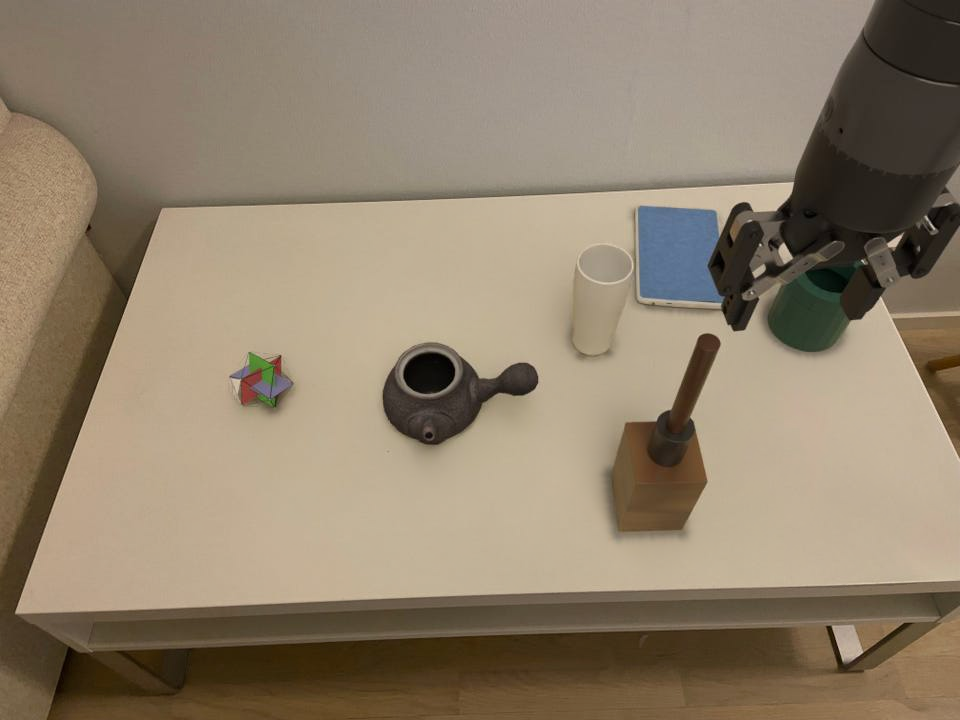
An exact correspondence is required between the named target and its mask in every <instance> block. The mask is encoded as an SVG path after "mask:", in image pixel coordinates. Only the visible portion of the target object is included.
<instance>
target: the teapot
mask: <svg viewBox="0 0 960 720" xmlns="http://www.w3.org/2000/svg"><path fill="white" fill-rule="evenodd" d="M538 385H539V374H538V371H537V369H536V368H535V366H533V365H532V364H530V363H529V362H517V363H513V364H511V365H509V366H507V368H505V369H504V370H503V371H502V372H501V373H500V374H499V375H497V376H496V377H493V378H487V377H486V378H485V377H482V378H479V375H478V373H477V372H476V370H475V369H474V367H473V366H472V365H471V363H469V362H468V361H467V360H466V359H465V358H464V357H462V356H461V355H460V354H459V353H458V352H457V351H456V349H454V348H452V347H451V346H449V345H447V344H444V343H440V342H436V341H435V342H432V341H431V342H430V341H427V342H422V343H418V344H415V345H413V346H411V347H410V348H408V349H406V350H405V351H403V352H402V354H400V356H399V357H398V359H397V360H396V363H395V365H394V366H393V367H392V369H391V370H390V371H389V373H388V375H387V377H386V379H385V382H384V385H383V388H382V398H381V399H382V406H383V410H384V414H385V415H386V417H387V419H388V421H389V422H390V424H391V425H392V426H393V427H394V428H395V430H397V431H398V432H399V433H401V434H402V435H404V436H406V437H408V438H411V439H413V440H417V441H418V442H419V443H421V444H424V445H425V446H437V445H439V444H441V443H443V442H445V440H448V439H451V438H453V437H455V436H457V435H459V434H461V433H463V432H464V431H465V430H466V429H468V427H470V426H471V424H472V423H474V422H475V420H476V418H478V417H477V416H478V415H479V413H480V411H481V408H482V405H483V404H484V403H486V402H488V401H489V400H490V399H492V398H493V397H495V396H496V395H498V394H507V395H510V396H512V397H523V396H526V395H528V394H531V393H532V392H534V391H535V390H536V388H537V387H538Z"/></svg>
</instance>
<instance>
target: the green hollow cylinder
mask: <svg viewBox="0 0 960 720" xmlns="http://www.w3.org/2000/svg"><path fill="white" fill-rule="evenodd" d="M859 265H866V264H865V262H864V261H863V260H861V261H858V262H855V264H854V266H847V267H837V266H829V267H825V268H821V269H815V270H807V271H806V272H804V273H803V274H801V275H800V276H798V277H797V278H795V279H794V280H793V281H791V282H790V283H788V284H786V285H782V284H780V287H779V289H778V291H777V292H776V295H775V297H774V299H773V302H772V303H771V305H770V307H769V310H768V314H767V323H768V327H769V330H770V331H771V332H772V334H773V335H774V336H775V337H776V338H777V339H778V340H779V341H780V342H781V343H783V344H784V345H786V346H788V347H790V348H793V349H794V350H798V351H802V352H808V353H817V352H818V353H819V352H823V351H826V350H828V349H830V348H832V347H834V346H835V344H837V343H838V341H839V340H840V339H841V337H842V336H843V334H844V333H845V331H846V329H847V328H848V327H849V325H850V323H851V322H852V320H849V319H848V318H847V316H846V314H845V312H844V310H843V309H842V307H841V305H840V296H841V294H842V293H843V291H844V289H845V288H846V286H847V284H848V283H849V281H850V280H851V278H852V276H853V275H854V273H855V271H856V270H857V268H858V266H859Z"/></svg>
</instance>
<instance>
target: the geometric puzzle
mask: <svg viewBox="0 0 960 720" xmlns="http://www.w3.org/2000/svg"><path fill="white" fill-rule="evenodd" d="M257 353H259V352H257V351H255V354H254V352H252V351H250V350H248V352H247V353H246V355H247V357H246V359H245V364H244V367H242V368H241V369H239V370H237V371H236V372H234V371H232V373H231V374H230V375H228V378H229V382H228V387H229V391H230V394H231V395H232V397H234V399H235V400H236V402H238V403H239V405H240V406H241V407H246V406H249V405H250V401H252V400H254V399H255V398H256V399H258V400H260V403H262V402H263V403H265V404H267V405H268V406H270V407H268V406H267V408H269V409H270V408H273V409H276V407H277V405H278V404H277V400H278V396H279V395H280V394H281V393H283V392H284V391H287V392H289V391H290V389H291V387H293V386H294V385H295V382H294V380H293V379H291V378H289V377H288V376H286V375H285V373H283V372H282V361H283V363H284V364H286V362H285V360H284V359H282V357H283V355H282V354H278V355H277V354H273V355H274V356H271V357H267V358H262V357H260V356H258V355H256V354H257ZM265 354H266V355H268V353H267V352H264V355H265ZM244 358H245V357H243V359H242V360H244ZM272 358H273V359H272ZM268 359H272V360H271V361H267V360H268ZM247 360H248V364H247ZM240 364H241V362H239V364H238V365H240ZM286 369H287V371H288V373H290V372H289V369H288V368H286ZM233 372H234V373H233ZM282 375H283V376H285V377H286V378H287V379H286V378H284V377H283V376H282ZM240 387H241V388H240ZM287 389H289V390H287ZM239 392H240V395H241V399H240V397H239ZM285 396H286V394H284V396H283V397H285ZM275 397H276V398H275ZM281 400H282V399H280V400H279V402H278V403H280V402H281ZM247 403H248V404H247ZM257 403H259V401H257V402H253V403H251V407H256V406H253V404H257Z"/></svg>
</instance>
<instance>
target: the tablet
mask: <svg viewBox="0 0 960 720" xmlns="http://www.w3.org/2000/svg"><path fill="white" fill-rule="evenodd" d="M634 220H635V221H634V229H635V230H634V233H635V235H634V236H635V238H634V239H635V289H636V290H635V297H636V301H637V302H639V303H640V304H642V305H643V304H644V305H654V306H661V307H673V308H675V307H676V308H685V309H686V308H688V309H704V310H722V309H721V304H722V302H723V299H724V297H722V296H720V295H719V294H718V291H717V289H716V287H715V284H714V282H713V279H712V277H711V274H710V272H709V269H708V263H709V260H710V258H711V256H712V254H713V251H714V249H715V247H716V244H717V242H718V240H719V237H720V235H721V233H722V231H721V230H722V229H721V223H720V216H719V212H718V211H717V210H715V209H711V208H710V209H709V208H694V207H693V208H692V207H677V206H676V207H675V206H660V205H659V206H658V205H642V204H641V205H637V206H636V208H635V209H634Z"/></svg>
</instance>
